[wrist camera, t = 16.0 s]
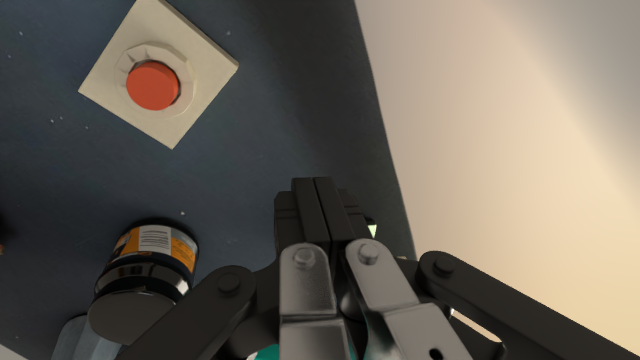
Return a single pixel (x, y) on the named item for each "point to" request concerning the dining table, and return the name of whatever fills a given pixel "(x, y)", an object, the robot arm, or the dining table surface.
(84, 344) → the moka pot
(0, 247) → the dragon fruit
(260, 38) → the dining table surface
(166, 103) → the button
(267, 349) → the table top decor
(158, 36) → the button base
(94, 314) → the supplement container
